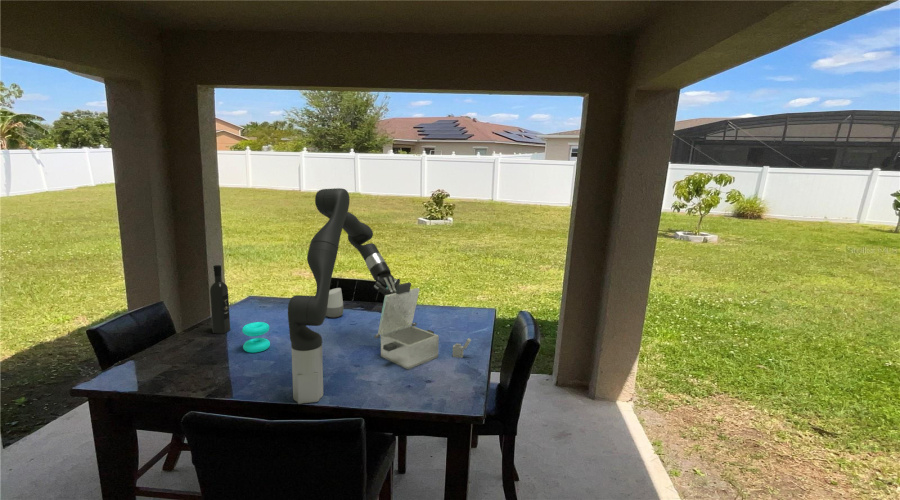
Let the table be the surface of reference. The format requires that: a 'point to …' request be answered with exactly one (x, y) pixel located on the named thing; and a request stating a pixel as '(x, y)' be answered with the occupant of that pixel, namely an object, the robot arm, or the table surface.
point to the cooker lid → (398, 309)
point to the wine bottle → (219, 303)
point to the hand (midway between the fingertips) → (397, 301)
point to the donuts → (256, 343)
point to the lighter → (460, 349)
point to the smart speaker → (335, 303)
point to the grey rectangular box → (409, 346)
